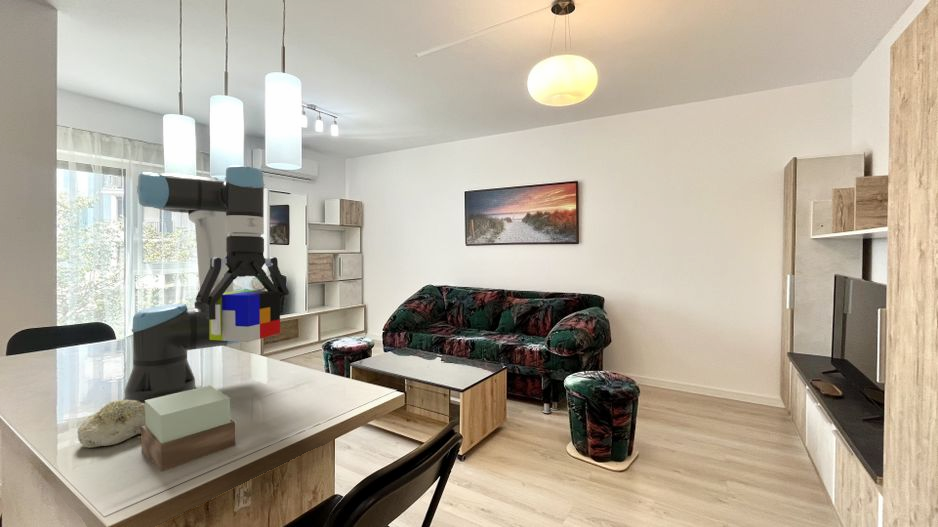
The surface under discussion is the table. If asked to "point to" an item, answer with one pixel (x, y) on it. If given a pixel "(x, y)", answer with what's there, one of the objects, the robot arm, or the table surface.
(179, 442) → the walnut slab
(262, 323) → the puzzle toy
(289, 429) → the table surface
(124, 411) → the decorative item
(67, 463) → the table surface
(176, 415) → the sage slab
